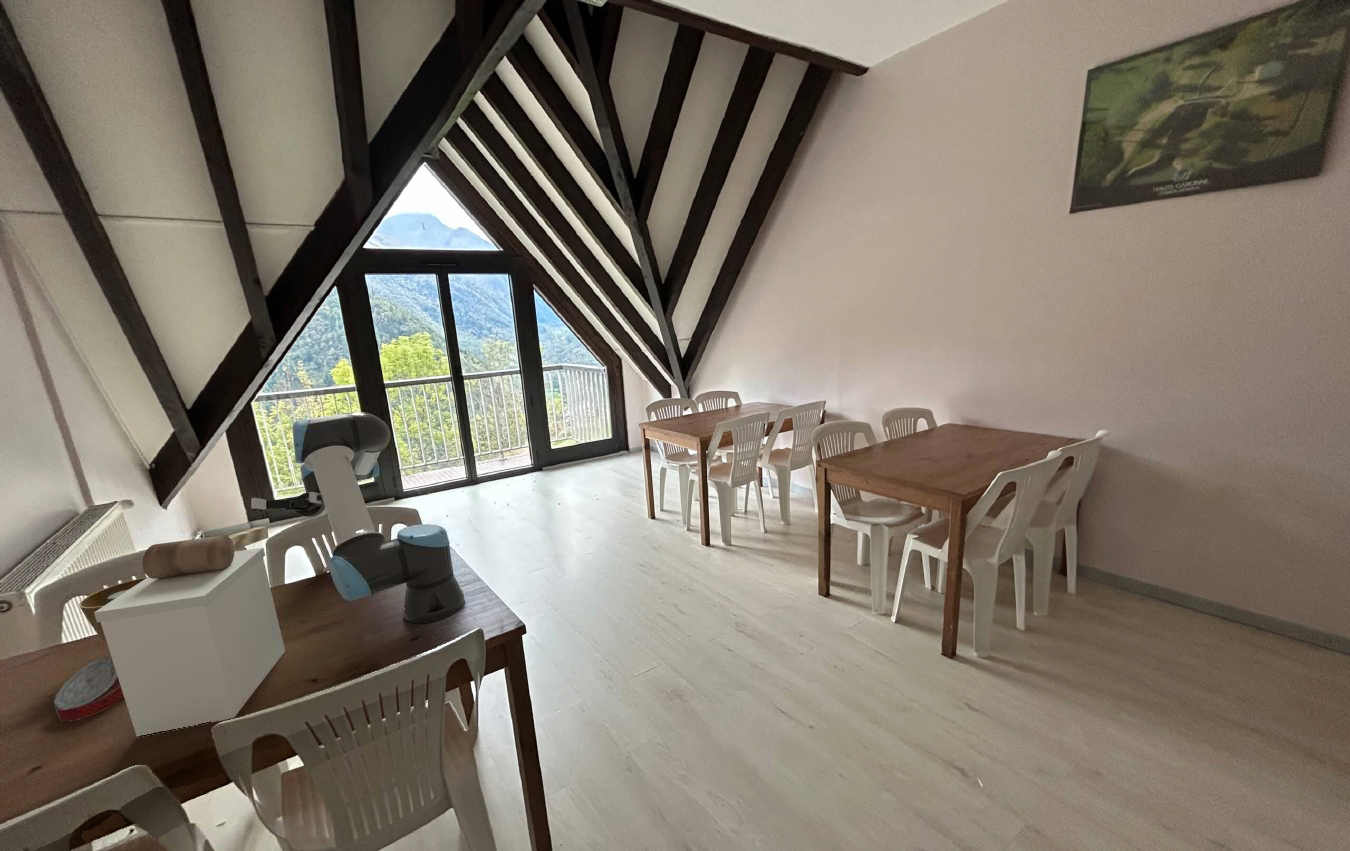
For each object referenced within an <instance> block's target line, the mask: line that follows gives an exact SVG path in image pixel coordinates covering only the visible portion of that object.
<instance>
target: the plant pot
mask: <svg viewBox="0 0 1350 851" xmlns="http://www.w3.org/2000/svg"><path fill="white" fill-rule="evenodd" d="M146 578H148V576H147V577H146V576H145V577H141V578H135V579H130V580H127V581H124V582H120V583H117V584H114V585H111V586H108V587H106V588H103V589H100V590H98V591H96V592H94V593H92V594H90V595H88V596H87V597H85V598H84V599H82V600H81V601H80V602H79V603H78V605H79V607H80V609H81V611H82V614H83V615H84V616H85V618H86V619H87V621H88V622H89V624H90V626H91V627H92V629H94V631H95V632H96V634H97V635H98V636H99V637H100V639H101V640H102V641H103V642H105V644H106V645H107V646H108V644H107V641H106V638H105V635H104V632H103V628H102V625H101V622H97V621H96V618H95V614H94V612H96V611H97V610H99V609H100V608H102V607H103V606H105V605H106V604H108V599H107V598H108V597H109V596H111V595H113V594H115V593H118V592H121V591H125V590H129V589H131V588H132V587H134V586H135V585H137V584H139V583H140V582H142V581H143V580H145V579H146Z"/></svg>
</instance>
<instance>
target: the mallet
mask: <svg viewBox="0 0 1350 851" xmlns="http://www.w3.org/2000/svg"><path fill="white" fill-rule="evenodd" d="M268 528H269V527H268V526H260V527H253V528H251V529H245V530H243V531H240V532H238V533H233V534H230V535H226V534H225V535H217V536H216V535H215V536H208V537H200V538H195V539H186V540H185V539H184V540H179V541H170V542H164V543H163V542H162V543H155V544H151V545H150V546H149V547H147V549H146V550H145V552H144V554H143V557H142V570H143V571H144V574H145V575H146V576H147V577H149V578H152V579H157V578H164V577H171V576H178V575H185V574H192V573H199V572H206V571H213V570H220V569H226V568H228V567H229V566H230V565H231V563H232V561H233V559H234V552H235V551H237V550H238V549H242V548H244V547H247V546H249V545H252V544H255V543H258V542H261V541H263V540H267V539H268V538H269V529H268Z"/></svg>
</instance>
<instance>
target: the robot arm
mask: <svg viewBox="0 0 1350 851" xmlns="http://www.w3.org/2000/svg"><path fill="white" fill-rule="evenodd" d="M292 437H293V446H294V447H293V448H294V459H295V463H296V464H302V465H301V466H300V468H299V470H300V474H301V480H302V484H303V486H304V491H305V492H304V493H302V494H300V495H299V496H297V497H294V498H292V497H291V498H285V499H282V500H281V499H278V500H275V499H274V500H272V499H271V500H267V499H264V498H258V497H251V501H250V502H251V504H250V505H251V507H250V508H251V509H252V511H254V512H257V511H258V512H259V513H263V511H279V512H282V511H295V512H296V514H298V515H299V516H300V517H301V516H302V517H307V518H313V519H314V520H318V519H321V520H326V519H328V521H329V523H330V526H331V530H332V532H333V536H334V539H335V543H336V545H335V546H334V548H333V549H332V552H331V554H332V557H330V558H329V559H328V561H327V567H328V570H329V571H328V572H329V573H330V575H331V579H332V581H333V583H334V586H335V588H336V589H337V591H338V592H339V594H340V596H341V597H342V598H343V599H344V600H346V601H348V602H349V601H350V602H353V601H356V600H361V599H363V598H369V597H371V596H373V595H375V594H378V593H381V592H383V591H387V590H389V589H392V588H395V587H397V586H400V585H403V584H406V590H405V596H404V603H403V606H402V613H403V618H404V619H405V621H407V622H409V623H413V624H429V623H433V622H438V621H440V620H444V619H446V618H448V617H450V616H453V614H455V613H457V612H458V611H459V610H460V609H461V608H462V607H463V606H464V604H465V595H464V590H463V589H462V588H461V587H460V585H459V582H458V580H457V579H456V577H455V573H454V567H453V562H452V554H451V549H450V543H451V542H450V540H449V536H448V532H447V530H446V528H444V527H443V526H441V525H438V524H431V523H430V524H429V523H427V524H426V523H423V524H414V525H409V526H406V527H404V528H402V529H400V530H399V531H398V532H397V535H396V538H394V539H390V540H387V541H386V538H385V536H384V534H383V533H382V532H379V531H375V527H374V525H373V522H372V519H371V516H370V513H369V511H368V507H367V505H366V503H365V502H366V501H365V500H364V499H365V498H364V497H363V495H362V494H363V493H362V492H361V488H360V485H359V482H360V481H366V480H370V479H372V478H377V477H379V475H380V465H379V462H378V458H379V455H380V453H381V452H382V451H384V449H386V448H387V446H388V444H389V442H390V440H391V430H390V428H389V426H388V425H387V423H386V422H385V421H384V420H382V419H381V418H380V417H378V416H376V415H374V414H372V413H369V412H364V411H352V412H348V413H341V414H340V413H339V414H333V415H332V414H331V415H325V416H320V417H308V418H305V419H299V420H296V421H294V423H293V425H292ZM324 515H325V516H324ZM320 516H322V517H320ZM316 517H317V518H316Z"/></svg>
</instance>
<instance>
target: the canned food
mask: <svg viewBox="0 0 1350 851" xmlns="http://www.w3.org/2000/svg"><path fill="white" fill-rule="evenodd" d="M120 699H121V700H123V699H124V695H123V692H122V688H121V685H120V682H119V679H118V676H117V673H116V669H115V666H114V663H113V660H112V657H111V656H110V657H109V656H107V657H100V658H98V659H95V660H94V661H92V662H90V663H87V664H86V665H84V666H83V667H81V668H80V669H79V670H78V671H76V672H75V673H74V674H72V675H71V676H70V678H69V679H68V680H66V681H65V682H64V683H63V684H62V686H61V687H60V689H59V690H58V692H57V693H56V694H55V699H54V701H53V703H54V709H55V711H56V713H57V714H56V715H57V716H58V719H59V721H61V720H62V722H65V721H67V722H71V721H70V720H75V721H77V720H76V719H78V718H83V717H86V716H89V715H92V714H94V713H96V712H99V711H101V710H103V709H105V708H107V707H109V706H111V705H113V704H114V703H116V702H117V703H119V702H120V701H121V700H120ZM119 700H120V701H119ZM118 701H119V702H118ZM117 703H116V704H117ZM114 705H115V704H114ZM114 705H113V706H114ZM111 707H112V706H111ZM109 708H110V707H109ZM107 709H108V708H107ZM105 710H106V709H105ZM103 711H104V710H103ZM101 712H102V711H101ZM99 713H100V712H99ZM94 715H95V714H94ZM92 716H93V715H92ZM89 717H90V716H89ZM86 718H87V717H86ZM83 719H84V718H83Z"/></svg>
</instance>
